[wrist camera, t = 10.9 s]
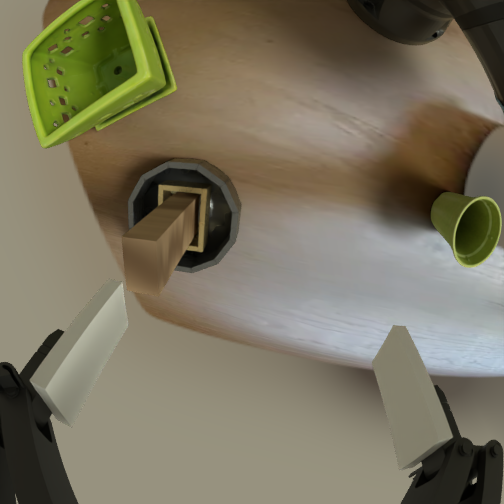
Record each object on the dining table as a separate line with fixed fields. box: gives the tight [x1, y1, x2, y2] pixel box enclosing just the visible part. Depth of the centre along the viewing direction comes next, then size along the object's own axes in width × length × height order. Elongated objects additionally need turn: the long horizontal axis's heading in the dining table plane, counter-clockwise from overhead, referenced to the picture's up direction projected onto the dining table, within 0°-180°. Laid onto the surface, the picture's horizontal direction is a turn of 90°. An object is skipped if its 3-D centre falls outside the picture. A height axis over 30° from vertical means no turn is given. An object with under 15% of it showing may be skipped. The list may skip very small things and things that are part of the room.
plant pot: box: [431, 192, 501, 268], centre depth 29 cm, size 9×9×9 cm
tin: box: [128, 158, 241, 273], centre depth 33 cm, size 14×14×4 cm
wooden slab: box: [122, 192, 200, 296], centre depth 28 cm, size 5×3×15 cm, turn 173°
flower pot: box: [22, 0, 177, 148], centre depth 21 cm, size 14×14×13 cm
